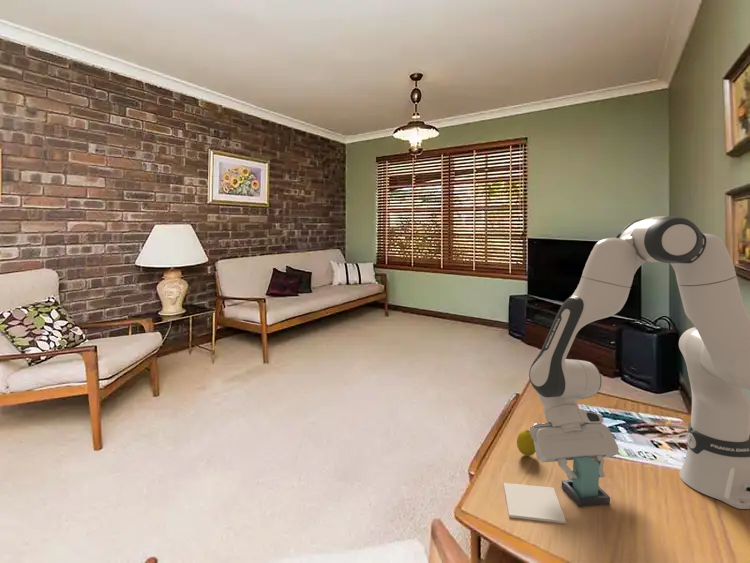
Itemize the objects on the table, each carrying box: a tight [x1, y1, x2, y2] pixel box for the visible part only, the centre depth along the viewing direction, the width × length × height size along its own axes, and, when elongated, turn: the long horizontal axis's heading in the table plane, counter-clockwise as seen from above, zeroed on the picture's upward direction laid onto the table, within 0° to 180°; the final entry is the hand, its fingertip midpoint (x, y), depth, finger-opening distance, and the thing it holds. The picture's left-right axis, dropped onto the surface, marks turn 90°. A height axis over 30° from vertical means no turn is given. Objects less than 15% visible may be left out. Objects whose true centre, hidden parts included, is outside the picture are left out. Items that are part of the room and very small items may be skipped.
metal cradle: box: [561, 479, 611, 508], centre depth 97 cm, size 8×8×2 cm
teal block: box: [572, 456, 600, 498], centre depth 97 cm, size 4×4×9 cm
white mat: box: [503, 482, 567, 525], centre depth 95 cm, size 12×12×1 cm
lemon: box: [516, 429, 536, 457], centre depth 115 cm, size 6×6×8 cm
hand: (587, 478), depth 96 cm, fingers open, 6 cm apart
